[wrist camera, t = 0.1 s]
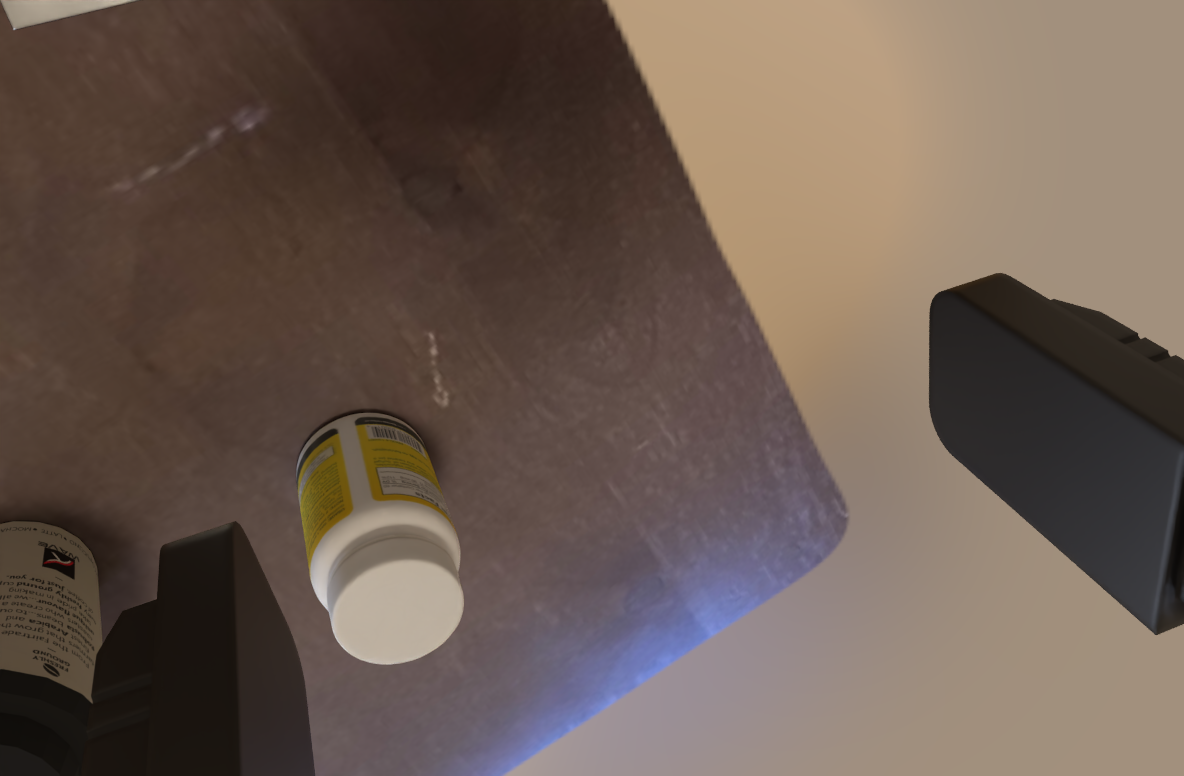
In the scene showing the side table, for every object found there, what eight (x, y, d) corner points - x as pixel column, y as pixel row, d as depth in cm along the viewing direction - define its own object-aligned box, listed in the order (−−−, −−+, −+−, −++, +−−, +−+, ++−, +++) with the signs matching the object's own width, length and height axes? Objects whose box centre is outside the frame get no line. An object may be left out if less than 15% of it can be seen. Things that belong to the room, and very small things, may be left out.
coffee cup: (78, 462, 34) (38, 671, 26) (167, 609, 38) (157, 832, 30) (-140, 536, 33) (-253, 779, 25) (-26, 680, 37) (-93, 933, 29)
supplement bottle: (317, 534, 39) (340, 696, 32) (277, 431, 36) (294, 582, 29) (441, 495, 40) (490, 644, 33) (411, 392, 37) (458, 529, 30)
